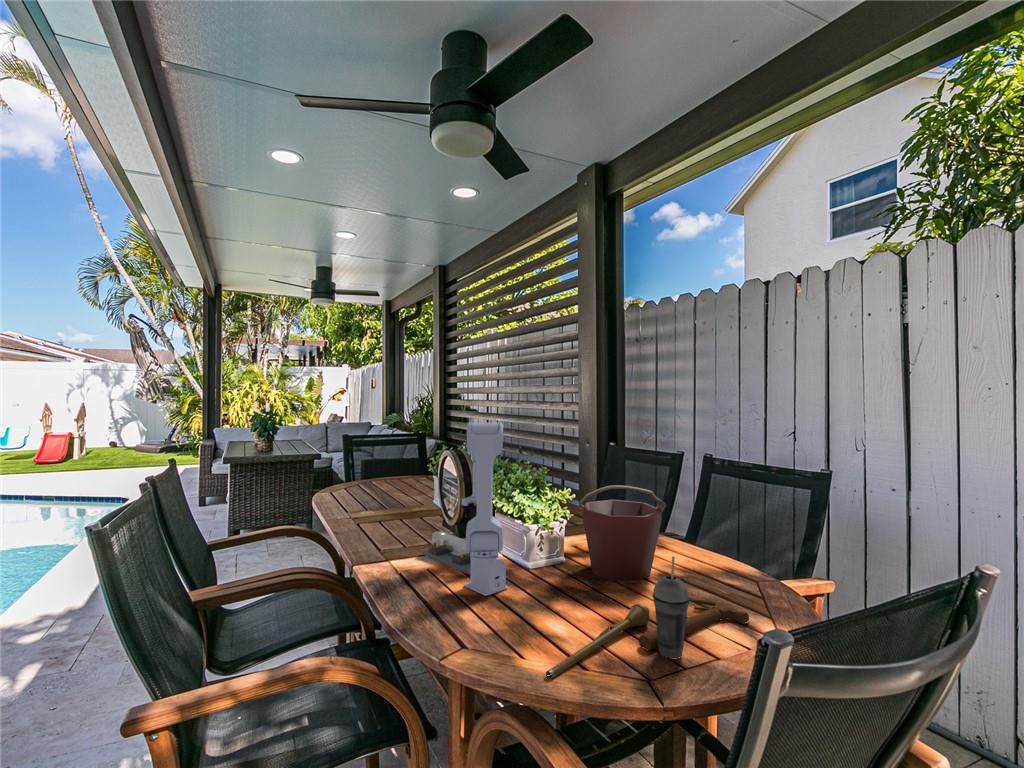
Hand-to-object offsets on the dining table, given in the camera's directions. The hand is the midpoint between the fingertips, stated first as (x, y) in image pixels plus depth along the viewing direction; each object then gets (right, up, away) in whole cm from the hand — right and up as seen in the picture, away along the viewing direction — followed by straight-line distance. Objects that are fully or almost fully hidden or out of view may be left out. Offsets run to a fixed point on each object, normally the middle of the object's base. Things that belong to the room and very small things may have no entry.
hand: (481, 525), depth 169 cm
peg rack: (-7, -10, -4) cm, 13 cm away
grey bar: (-7, -7, -4) cm, 11 cm away
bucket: (+41, -10, -13) cm, 45 cm away
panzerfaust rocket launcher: (+29, -11, -57) cm, 65 cm away
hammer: (+49, -11, -49) cm, 70 cm away
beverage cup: (+42, -10, -61) cm, 74 cm away
